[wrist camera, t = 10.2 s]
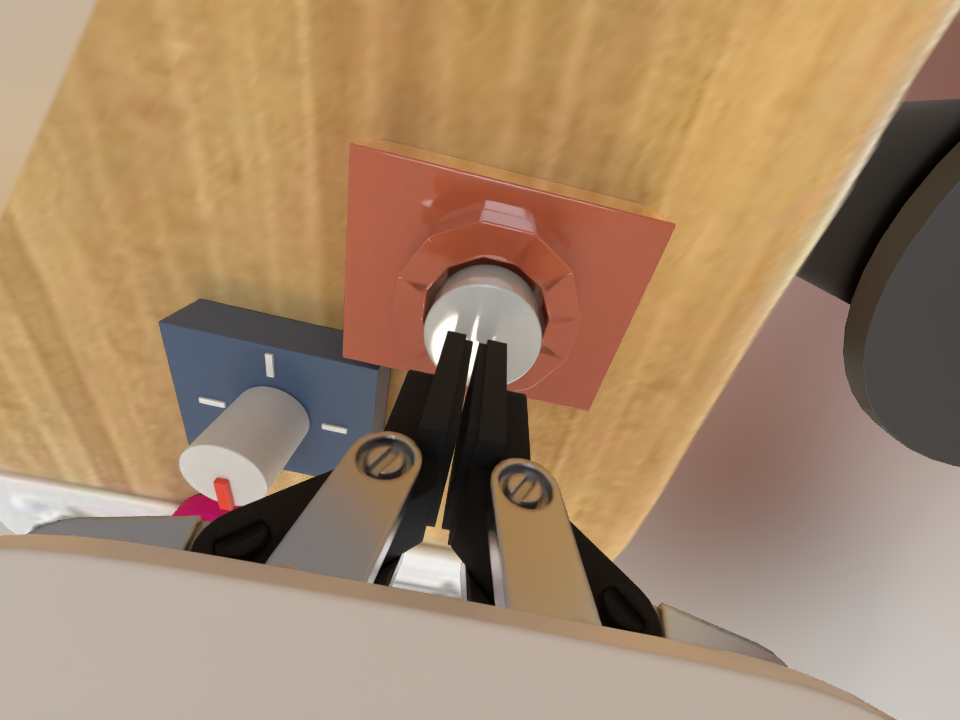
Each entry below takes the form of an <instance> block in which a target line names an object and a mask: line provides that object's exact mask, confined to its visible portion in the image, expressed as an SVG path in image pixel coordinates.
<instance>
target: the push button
mask: <svg viewBox="0 0 960 720" xmlns="http://www.w3.org/2000/svg"><path fill="white" fill-rule="evenodd" d="M448 330H449V331H453V332H458V333H462V334H467V336H466V340H470V341H473V346H472V352H471V359H470V365H469V371H468V377H467V383H466V386H468V385H469V381H470V377H471V373H472V369H473V365H474V361H475V357H476V353H477V349H478V345H479V343H484V344H486V343H487V340H488V339H489V340H494V341H498V342H502V343H507V384H510V383H512V382H514V381H516V380H517V379H519V378H520V377H522V376H523V375H524V374H525V373H526V372H527V371H528V370H529V369H530V368H531V367H532V366H533V364H534V363H535V361H536V359H537V357H538V355H539V353H540V349H541V344H542V330H541V322H540V315H539V308H538V303H537V300H536V297H535V295H534V293H533V291H532V289H531V288H530V286H529V285H528V284H527V283H526V282H525V281H524V280H523V279H522V278H521V277H520V276H519V275H517V274H516V273H514V272H512V271H510V270H508V269H506V268H503V267H500V266H495V265H484V264H483V265H474V266H470V267H467V268H464V269H462V270H460V271H458V272H456V273H454V274H453V275H452V276H450V277H449V278H448V279H447V280H446V281H445V282H444V283H443V285H442V286H441V287H440V289H439V291H438V293H437V295H436V297H435V299H434V302H433V304H432V306H431V308H430V310H429V313H428V315H427V317H426V320H425V324H424V343H425V347H426V350H427V353H428V355H429V357H430V359H431V360H432V362H433V363H434V365H435V366H436V367H437V364H438V361H439V358H440V354H441V351H442V348H443V344H444V341H445V338H446V334H447V331H448Z"/></svg>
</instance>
